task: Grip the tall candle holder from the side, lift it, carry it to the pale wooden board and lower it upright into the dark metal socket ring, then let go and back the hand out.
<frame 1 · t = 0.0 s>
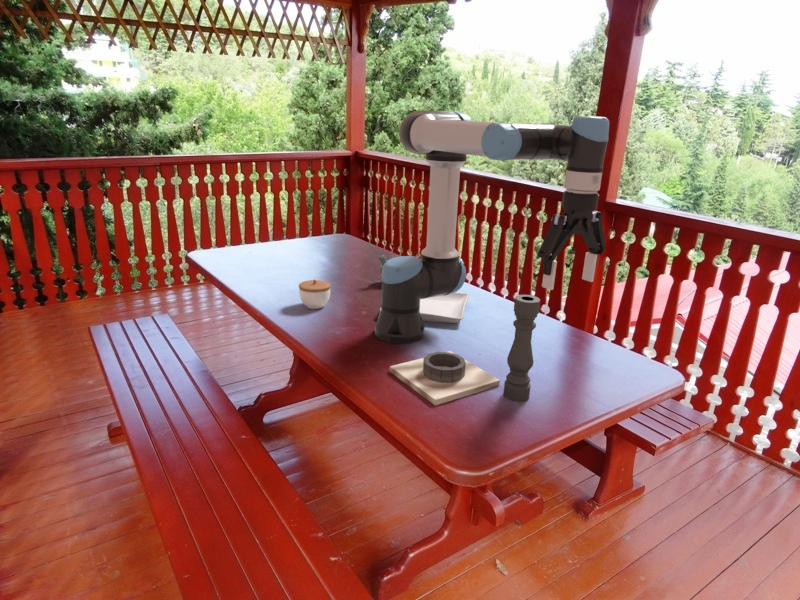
hand: (568, 284, 125), 28 cm above the table, tool pointing down, fingers open, 13 cm apart
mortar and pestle: (390, 284, 215), on the table
square plate: (426, 311, 188), on the table
candle holder: (516, 396, 132), on the table
lidded jar: (315, 306, 188), on the table
socket board: (443, 378, 139), on the table
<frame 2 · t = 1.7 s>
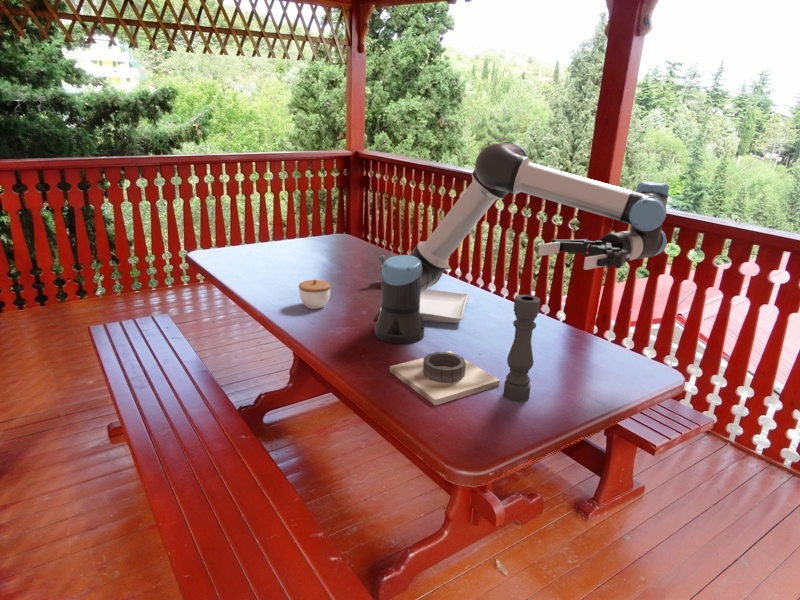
hand: (561, 256, 126), 34 cm above the table, tool horizontal, fingers open, 13 cm apart
nothing on the table moved.
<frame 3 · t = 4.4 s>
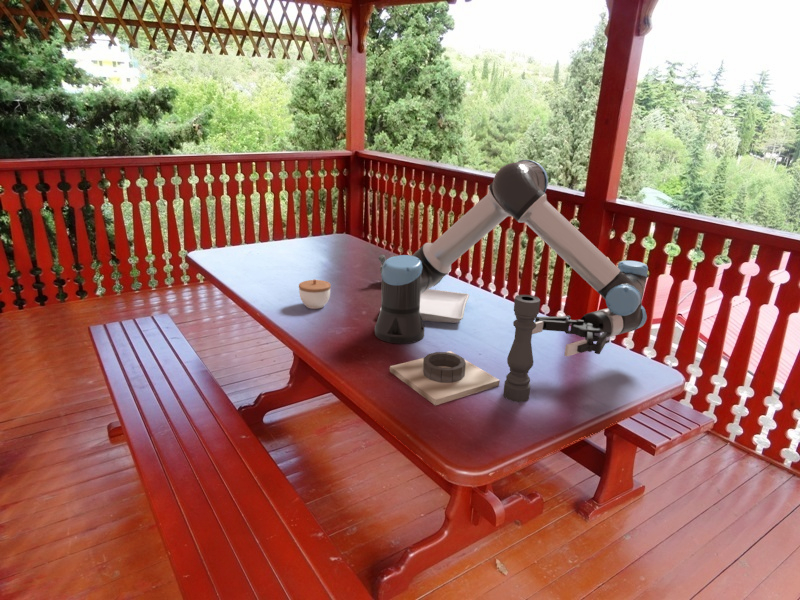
hand: (544, 340, 131), 13 cm above the table, tool horizontal, fingers open, 13 cm apart
nothing on the table moved.
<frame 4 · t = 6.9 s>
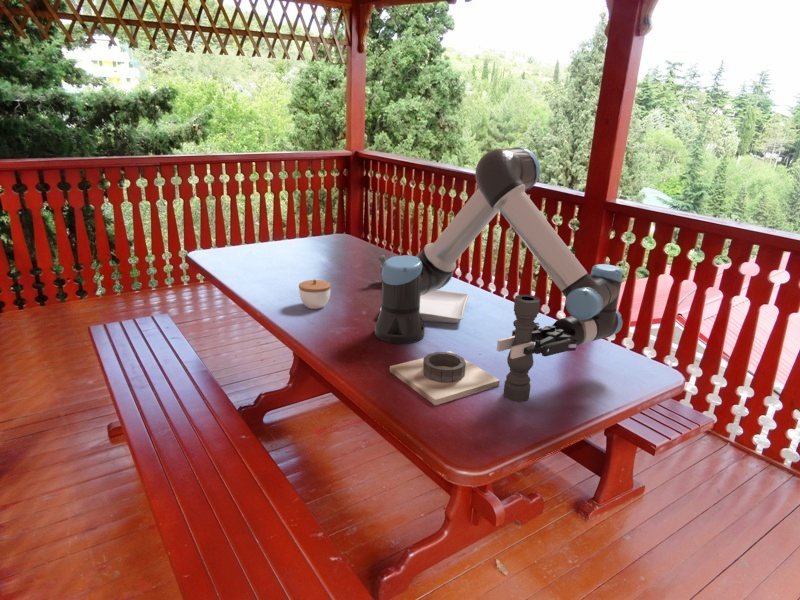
hand: (505, 349, 125), 14 cm above the table, tool horizontal, fingers closed on candle holder, 4 cm apart
candle holder: (516, 396, 132), on the table, touching gripper
everything else where it was.
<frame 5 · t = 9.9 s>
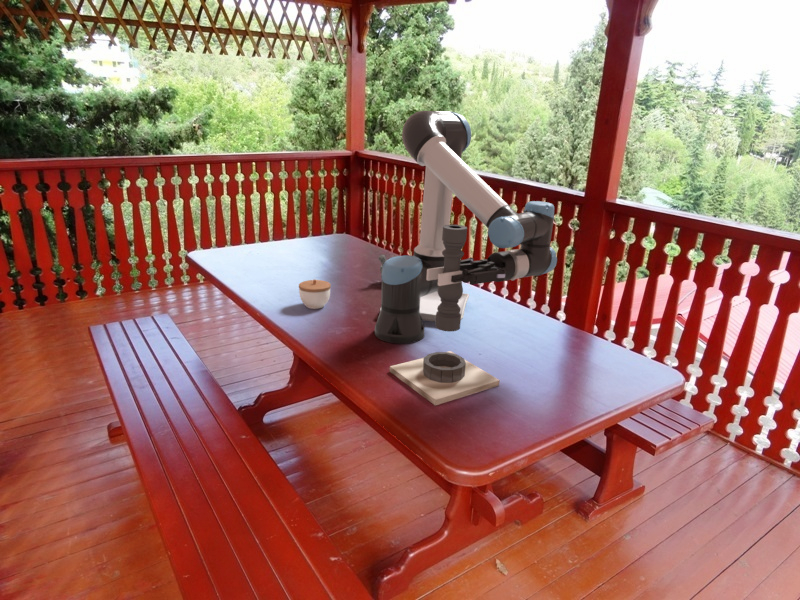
hand: (433, 277, 127), 28 cm above the table, tool horizontal, fingers closed on candle holder, 4 cm apart
candle holder: (447, 327, 135), point 14 cm above the table, touching gripper
everything else where it was.
when the fingers open (15 cm above the table, at t = 13.2 s): candle holder stays where it is, resting on socket board.
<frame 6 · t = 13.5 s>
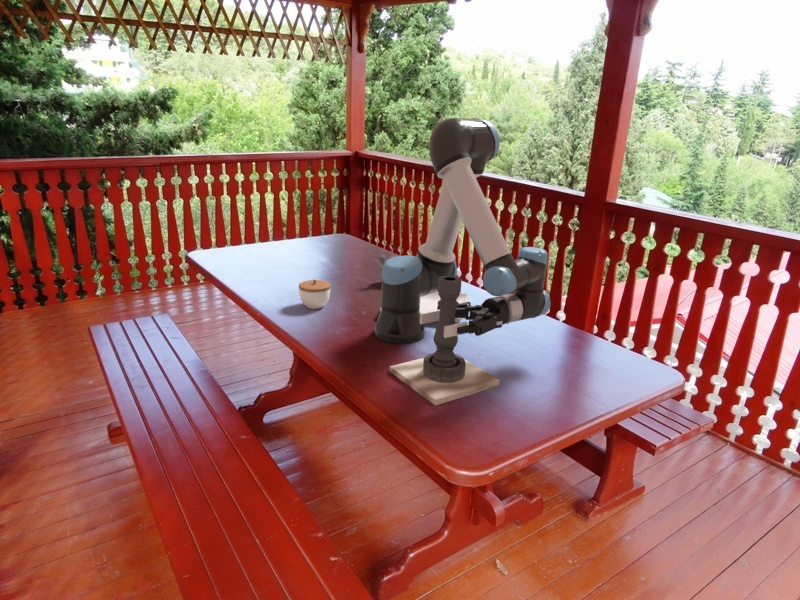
hand: (432, 325, 132), 15 cm above the table, tool horizontal, fingers open, 9 cm apart
candle holder: (443, 373, 139), point 1 cm above the table, touching socket board
everything else where it was.
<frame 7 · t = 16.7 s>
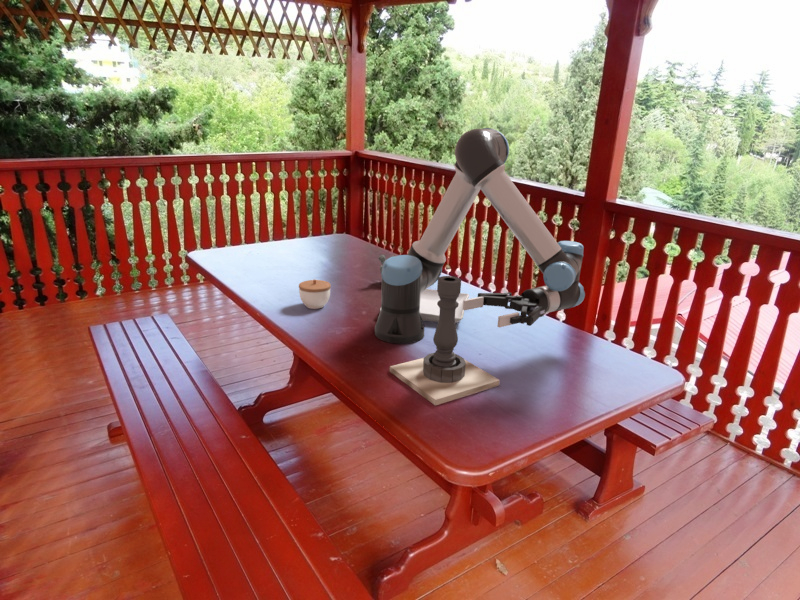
hand: (480, 313, 140), 16 cm above the table, tool horizontal, fingers open, 13 cm apart
nothing on the table moved.
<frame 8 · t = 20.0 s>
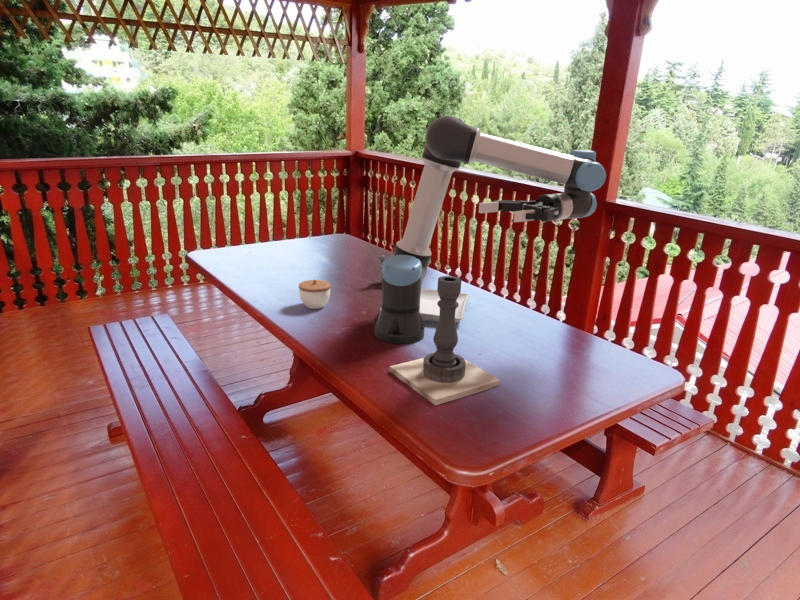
hand: (496, 212, 143), 40 cm above the table, tool horizontal, fingers open, 13 cm apart
nothing on the table moved.
at the end: candle holder 0.2 cm off-centre on the socket board, point 1.3 cm above the socket board's base; candle holder tilted 0°; the gripper is holding nothing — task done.
